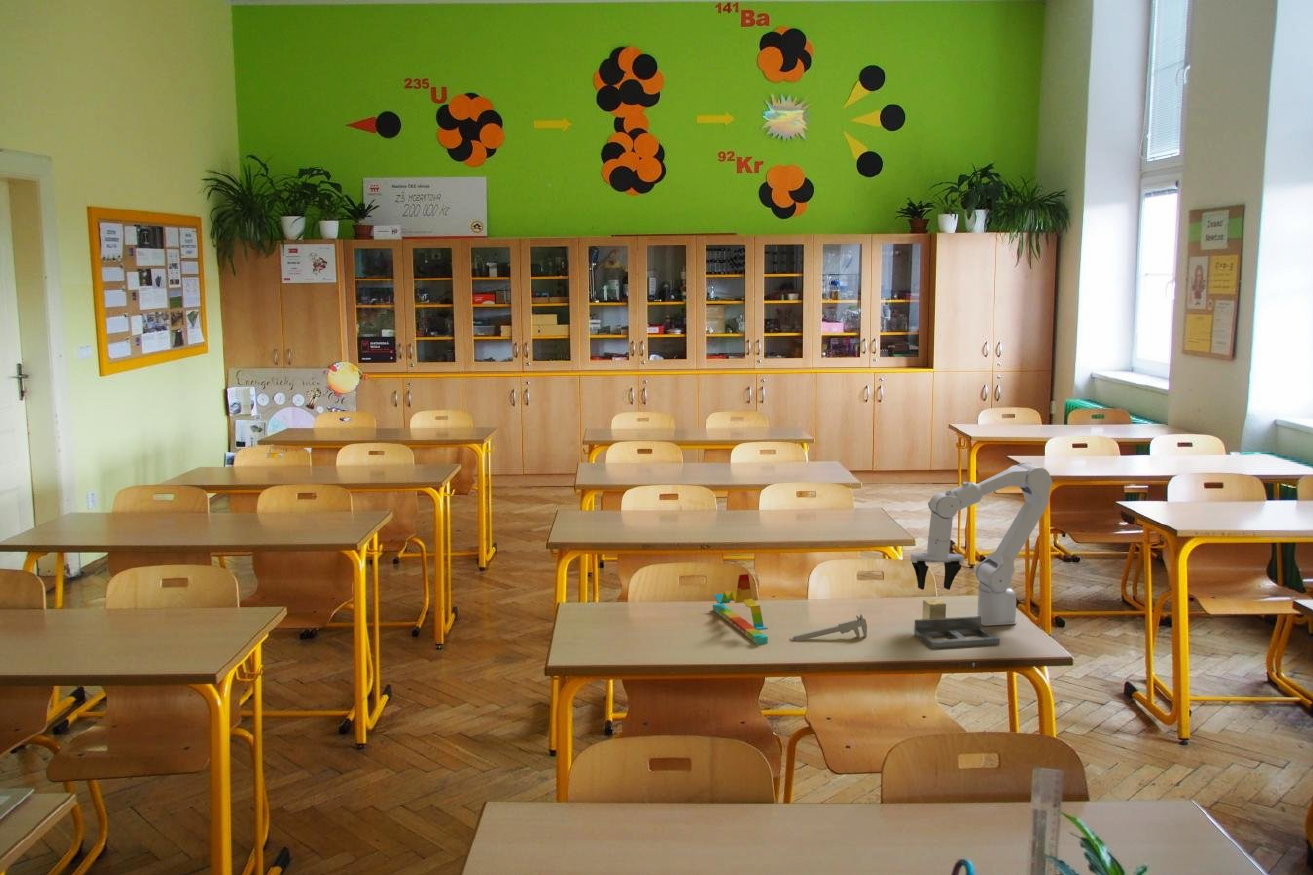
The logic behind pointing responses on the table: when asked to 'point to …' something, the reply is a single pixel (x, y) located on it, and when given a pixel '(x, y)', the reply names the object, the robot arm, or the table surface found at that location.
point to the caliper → (836, 629)
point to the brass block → (934, 609)
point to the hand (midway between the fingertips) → (933, 588)
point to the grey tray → (953, 632)
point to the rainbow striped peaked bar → (739, 623)
